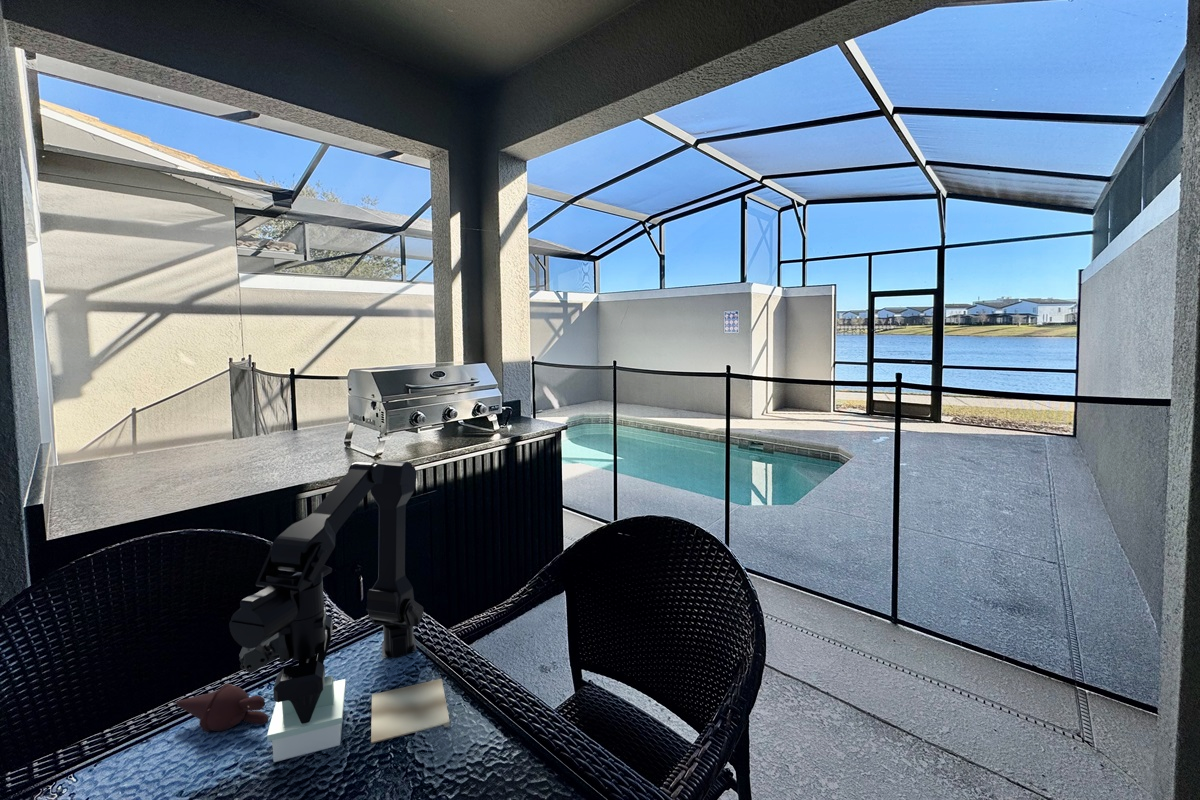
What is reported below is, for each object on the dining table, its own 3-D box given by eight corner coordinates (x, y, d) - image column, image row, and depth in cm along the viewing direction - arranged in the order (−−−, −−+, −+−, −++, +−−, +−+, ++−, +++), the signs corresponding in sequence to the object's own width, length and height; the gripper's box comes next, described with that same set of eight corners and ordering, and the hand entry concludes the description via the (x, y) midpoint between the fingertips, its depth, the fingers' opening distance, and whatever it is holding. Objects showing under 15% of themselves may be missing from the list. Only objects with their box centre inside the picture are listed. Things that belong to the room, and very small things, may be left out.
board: (372, 698, 94) (371, 694, 94) (441, 682, 99) (441, 678, 99) (371, 746, 83) (371, 742, 83) (449, 726, 88) (449, 721, 88)
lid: (279, 703, 88) (277, 673, 87) (345, 688, 91) (344, 660, 91) (267, 746, 78) (265, 713, 78) (342, 728, 82) (340, 696, 82)
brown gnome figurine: (153, 707, 83) (247, 718, 82) (190, 668, 89) (277, 677, 89) (163, 738, 85) (254, 748, 85) (197, 697, 92) (282, 707, 92)
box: (283, 725, 88) (281, 700, 87) (343, 710, 91) (342, 686, 91) (273, 765, 80) (271, 738, 79) (340, 748, 83) (338, 722, 82)
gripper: (255, 593, 88) (262, 680, 90) (226, 656, 71) (235, 761, 73) (330, 582, 93) (334, 665, 94) (319, 638, 75) (325, 738, 77)
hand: (309, 703), depth 85 cm, fingers open, 9 cm apart
